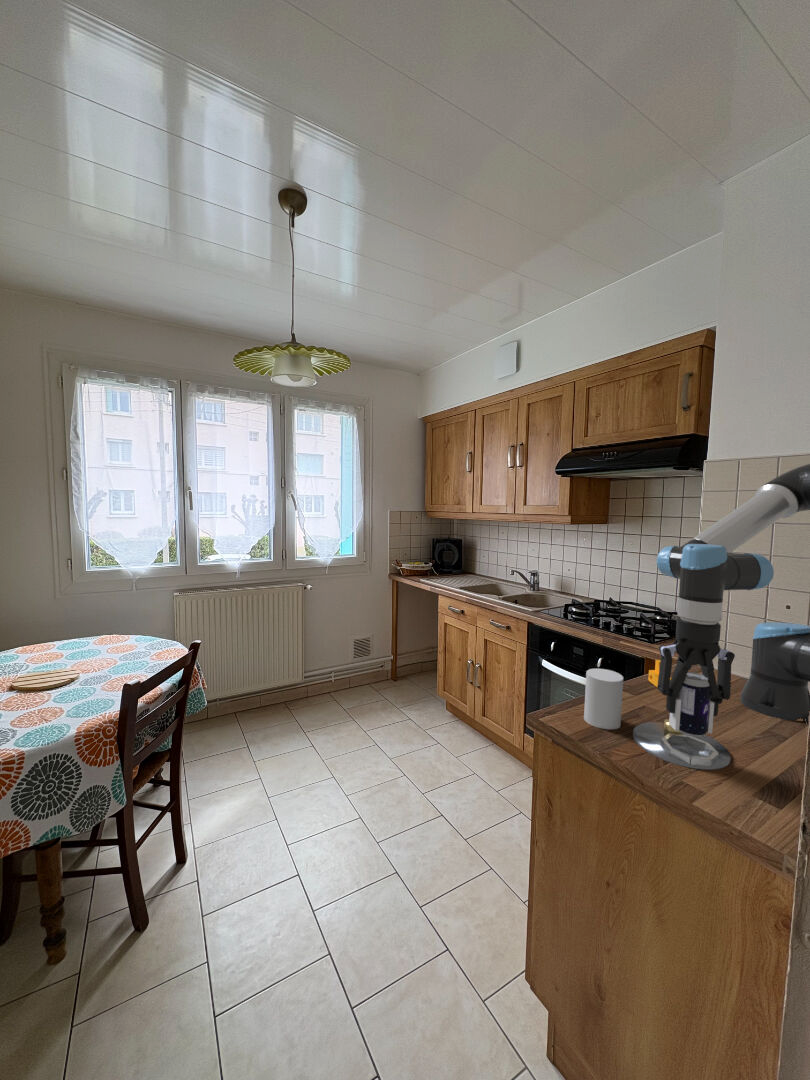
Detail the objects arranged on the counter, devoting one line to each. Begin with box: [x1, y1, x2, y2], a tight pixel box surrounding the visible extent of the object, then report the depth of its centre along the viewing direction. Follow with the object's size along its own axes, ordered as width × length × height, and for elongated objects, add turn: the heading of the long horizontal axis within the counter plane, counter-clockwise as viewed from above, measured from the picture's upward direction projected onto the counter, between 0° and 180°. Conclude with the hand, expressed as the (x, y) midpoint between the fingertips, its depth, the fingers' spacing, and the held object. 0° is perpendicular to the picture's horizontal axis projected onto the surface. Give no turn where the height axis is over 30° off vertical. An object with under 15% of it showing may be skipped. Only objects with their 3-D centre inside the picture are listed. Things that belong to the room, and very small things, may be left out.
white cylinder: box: [583, 668, 624, 730], centre depth 106 cm, size 8×8×12 cm
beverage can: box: [678, 671, 710, 737], centre depth 91 cm, size 6×6×12 cm
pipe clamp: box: [647, 659, 672, 688], centre depth 128 cm, size 12×4×6 cm, turn 176°
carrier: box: [632, 718, 732, 771], centre depth 96 cm, size 18×18×4 cm
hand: (690, 728), depth 91 cm, fingers closed on beverage can, 6 cm apart
